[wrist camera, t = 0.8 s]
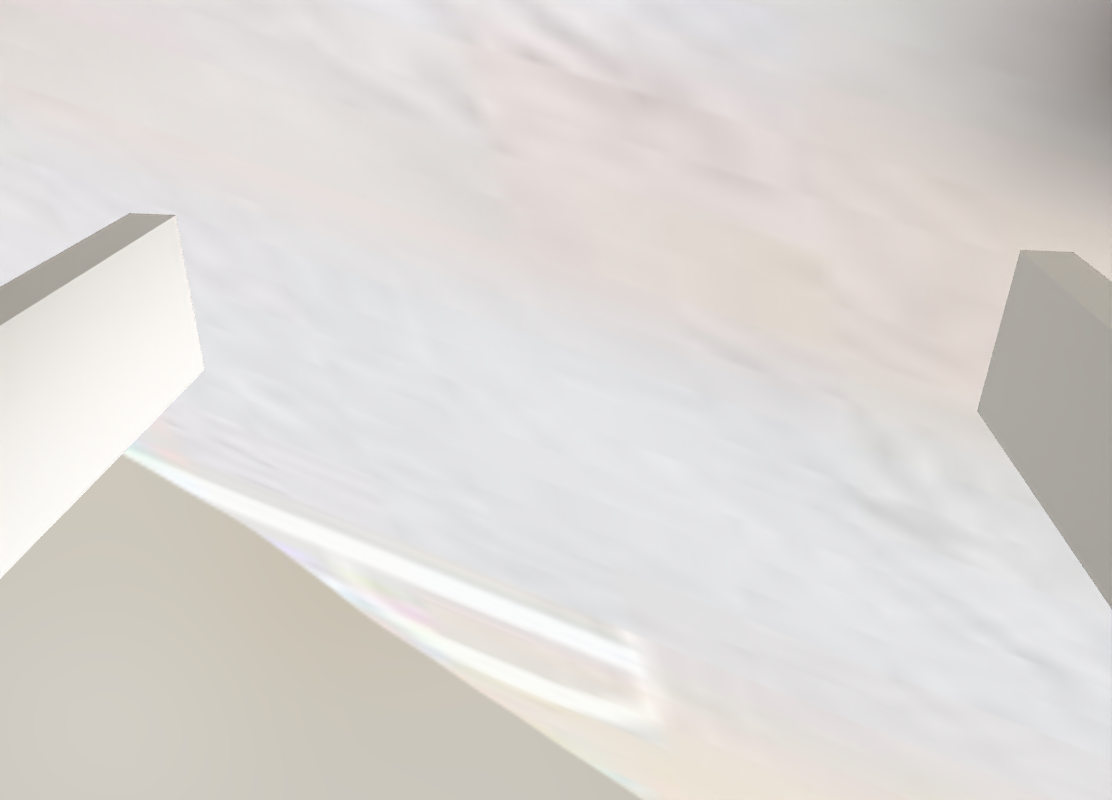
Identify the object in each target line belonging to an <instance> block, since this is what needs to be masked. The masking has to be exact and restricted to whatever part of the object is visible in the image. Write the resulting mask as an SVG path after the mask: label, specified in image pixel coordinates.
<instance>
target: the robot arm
mask: <svg viewBox="0 0 1112 800" xmlns="http://www.w3.org/2000/svg"><path fill="white" fill-rule="evenodd" d="M204 370H205V368H204V363H203V358H202V352H201V347H200V342H199V336H198V331H197V326H196V320H195V315H194V310H193V304H192V299H191V294H190V288H189V283H188V278H187V273H186V267H185V262H184V257H183V251H182V246H181V241H180V235H179V230H178V225H177V219H176V215H158V214H134V213H129V214H128V215H126V216H124V217H122V218H121V219H119V220H117V221H115V222H114V223H112V224H110V225H108V226H107V227H105V228H103V229H101V230H99V231H98V232H96V233H94V234H92V235H91V236H89V237H87V238H85V239H84V240H82V241H80V242H78V243H77V244H75V245H73V246H71V247H70V248H68V249H66V250H64V251H63V252H61V253H59V254H57V255H56V256H54V257H52V258H50V259H49V260H47V261H45V262H43V263H41V264H40V265H38V266H36V267H34V268H33V269H31V270H29V271H27V272H26V273H24V274H22V275H20V276H19V277H17V278H15V279H13V280H12V281H10V282H8V283H6V284H5V285H3V286H1V287H0V578H1V577H2V576H3V575H4V574H5V573H6V572H7V571H8V570H9V569H10V568H11V567H12V566H13V565H14V564H15V563H16V562H17V561H18V560H19V559H20V558H21V557H22V556H23V555H24V554H25V553H26V552H27V551H28V550H29V549H30V548H31V547H32V546H33V545H34V544H35V543H36V541H37V540H38V539H39V538H40V537H41V536H42V535H43V534H44V533H45V532H46V531H47V530H48V529H49V528H50V527H51V526H52V525H53V524H54V523H55V522H56V521H57V520H58V519H59V518H60V517H61V516H62V515H63V514H64V513H65V512H66V511H67V510H68V509H69V508H70V507H71V506H72V505H73V504H74V503H75V502H76V501H77V500H78V499H79V498H80V497H81V496H82V494H84V492H85V491H86V490H87V489H88V488H89V487H90V486H91V485H92V484H93V483H94V482H95V481H96V480H97V479H98V478H99V477H100V476H101V475H102V474H103V473H104V472H105V471H106V470H107V469H108V468H109V467H110V466H111V465H112V464H113V463H114V462H115V461H116V460H117V459H118V458H119V457H120V456H121V455H122V454H123V453H124V452H125V451H126V450H127V449H128V448H129V447H130V445H131V444H132V443H133V442H134V441H135V440H136V439H137V438H138V437H139V436H140V435H141V434H142V433H143V432H144V431H145V430H146V429H147V428H148V427H149V426H150V425H151V424H152V423H153V422H154V421H155V420H156V419H157V418H158V417H159V416H160V415H161V414H162V413H163V412H164V411H165V410H166V409H167V408H168V407H169V406H170V405H171V404H172V403H173V402H174V401H175V400H176V398H177V397H178V396H179V395H180V394H181V393H182V392H183V391H184V390H185V389H186V388H187V387H188V386H189V385H190V384H191V383H192V382H193V381H194V380H195V379H196V378H197V377H198V376H199V375H200V374H201V373H202V372H203V371H204ZM977 411H978V413H979V414H980V416H981V417H982V419H983V420H984V422H985V423H986V425H987V426H988V427H989V429H990V430H991V432H992V433H993V435H994V436H995V438H996V439H997V441H998V442H999V444H1000V445H1001V447H1002V448H1003V450H1004V451H1005V453H1006V454H1007V455H1008V457H1009V458H1010V460H1011V461H1012V463H1013V464H1014V466H1015V467H1016V469H1017V470H1018V472H1019V473H1020V475H1021V476H1022V478H1023V479H1024V480H1025V482H1026V483H1027V485H1028V486H1029V488H1030V489H1031V491H1032V492H1033V494H1034V495H1035V497H1036V498H1037V500H1038V501H1039V503H1040V504H1041V506H1042V507H1043V508H1044V510H1045V511H1046V513H1047V514H1048V516H1049V517H1050V519H1051V520H1052V522H1053V523H1054V525H1055V526H1056V528H1057V529H1058V531H1059V532H1060V534H1061V535H1062V536H1063V538H1064V539H1065V541H1066V542H1067V544H1068V545H1069V547H1070V548H1071V550H1072V551H1073V553H1074V554H1075V556H1076V557H1077V559H1078V560H1079V561H1080V563H1081V564H1082V566H1083V567H1084V569H1085V570H1086V572H1087V573H1088V575H1089V576H1090V578H1091V579H1092V581H1093V582H1094V584H1095V585H1096V587H1097V588H1098V589H1099V591H1100V592H1101V594H1102V595H1103V597H1104V598H1105V600H1106V601H1107V603H1108V604H1109V606H1110V607H1111V609H1112V282H1111V281H1110V280H1109V279H1107V278H1106V277H1105V276H1103V275H1102V274H1101V273H1100V272H1098V271H1097V270H1096V269H1094V268H1093V267H1092V266H1090V265H1089V264H1088V263H1087V262H1085V261H1084V260H1083V259H1081V258H1080V257H1079V256H1078V255H1076V254H1075V253H1074V252H1055V251H1030V250H1020V254H1019V258H1018V261H1017V265H1016V269H1015V272H1014V276H1013V280H1012V284H1011V287H1010V291H1009V295H1008V298H1007V302H1006V306H1005V310H1004V313H1003V317H1002V321H1001V324H1000V328H999V332H998V336H997V339H996V343H995V347H994V350H993V354H992V358H991V362H990V365H989V369H988V373H987V376H986V380H985V384H984V388H983V391H982V395H981V399H980V402H979V406H978V410H977Z"/></svg>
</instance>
